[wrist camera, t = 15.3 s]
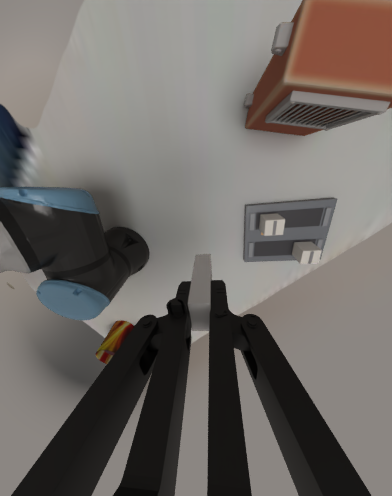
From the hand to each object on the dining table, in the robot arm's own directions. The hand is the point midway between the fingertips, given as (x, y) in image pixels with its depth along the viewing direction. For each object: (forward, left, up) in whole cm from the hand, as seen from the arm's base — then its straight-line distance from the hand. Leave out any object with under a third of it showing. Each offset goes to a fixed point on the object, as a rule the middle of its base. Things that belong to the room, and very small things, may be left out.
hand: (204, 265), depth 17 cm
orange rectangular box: (+15, +16, -28) cm, 36 cm away
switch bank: (+19, -9, -28) cm, 35 cm away
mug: (-38, -48, -28) cm, 67 cm away
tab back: (+23, -13, -26) cm, 37 cm away
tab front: (+14, -5, -26) cm, 30 cm away
